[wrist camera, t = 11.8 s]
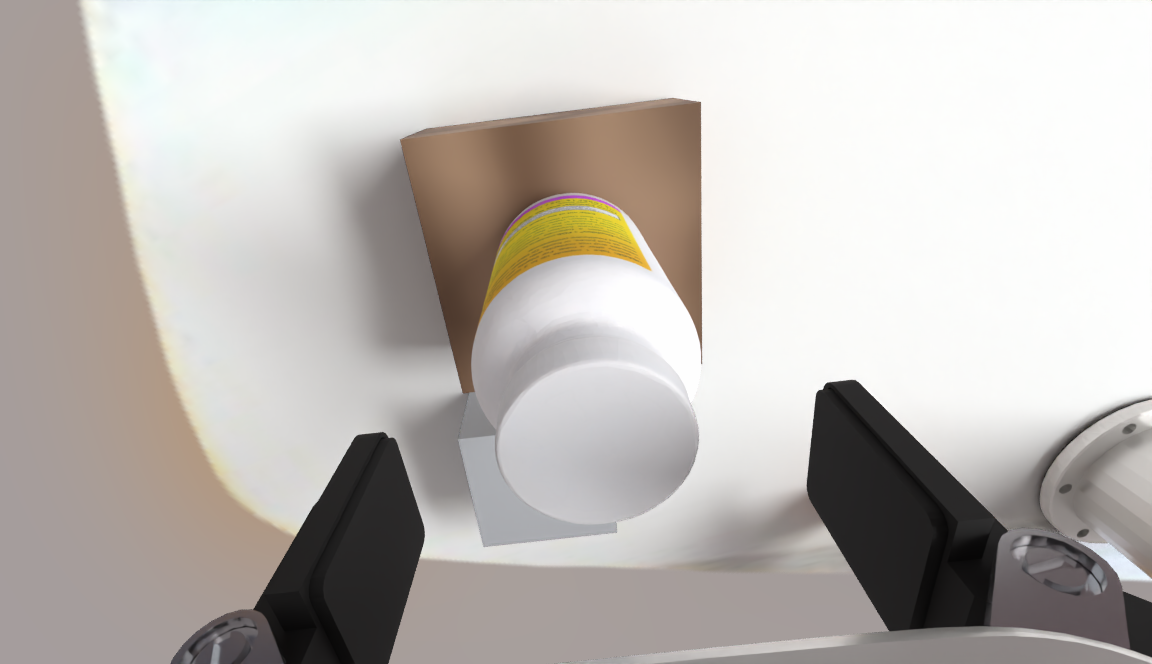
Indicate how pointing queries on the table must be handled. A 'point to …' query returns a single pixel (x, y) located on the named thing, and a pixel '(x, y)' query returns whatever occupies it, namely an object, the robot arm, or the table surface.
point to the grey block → (505, 492)
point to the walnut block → (550, 167)
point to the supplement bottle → (586, 364)
